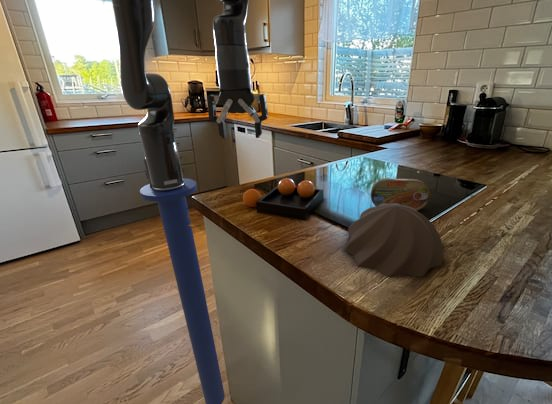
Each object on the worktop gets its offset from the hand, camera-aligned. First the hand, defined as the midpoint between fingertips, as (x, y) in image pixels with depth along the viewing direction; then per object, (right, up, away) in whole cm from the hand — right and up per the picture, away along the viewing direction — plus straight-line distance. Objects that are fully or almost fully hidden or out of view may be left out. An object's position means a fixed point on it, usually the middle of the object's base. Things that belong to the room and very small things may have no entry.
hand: (241, 137), depth 76 cm
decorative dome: (+35, -26, -14) cm, 46 cm away
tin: (+41, -18, +5) cm, 46 cm away
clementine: (+2, -18, +7) cm, 19 cm away
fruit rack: (+12, -17, +7) cm, 23 cm away
